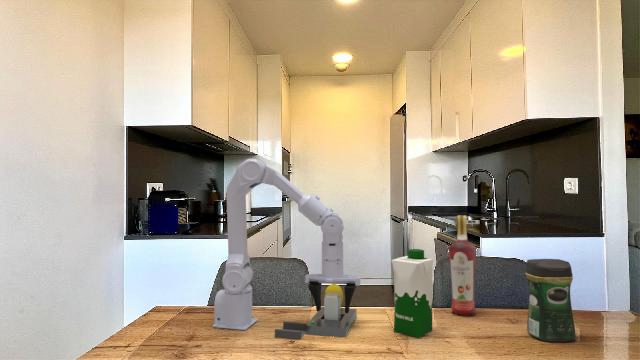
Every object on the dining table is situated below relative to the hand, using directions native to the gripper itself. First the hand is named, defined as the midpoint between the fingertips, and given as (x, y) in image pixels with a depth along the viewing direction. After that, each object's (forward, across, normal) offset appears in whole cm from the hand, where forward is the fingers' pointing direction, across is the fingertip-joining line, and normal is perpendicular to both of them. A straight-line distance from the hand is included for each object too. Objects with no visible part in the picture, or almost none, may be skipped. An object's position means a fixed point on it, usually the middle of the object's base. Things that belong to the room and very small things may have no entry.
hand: (332, 311), depth 101 cm
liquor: (+4, +34, +18) cm, 39 cm away
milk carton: (+4, +20, 0) cm, 21 cm away
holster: (+4, -8, -8) cm, 13 cm away
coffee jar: (+4, +52, +4) cm, 53 cm away
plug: (+4, 0, 0) cm, 4 cm away
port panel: (+4, 0, 0) cm, 4 cm away
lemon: (+4, -2, +12) cm, 13 cm away
